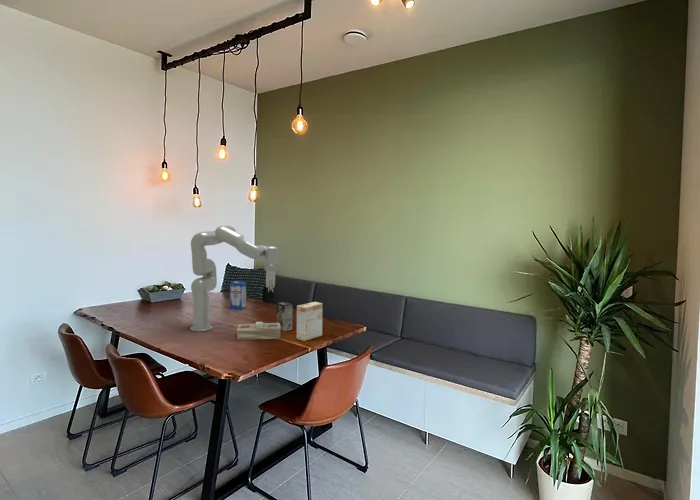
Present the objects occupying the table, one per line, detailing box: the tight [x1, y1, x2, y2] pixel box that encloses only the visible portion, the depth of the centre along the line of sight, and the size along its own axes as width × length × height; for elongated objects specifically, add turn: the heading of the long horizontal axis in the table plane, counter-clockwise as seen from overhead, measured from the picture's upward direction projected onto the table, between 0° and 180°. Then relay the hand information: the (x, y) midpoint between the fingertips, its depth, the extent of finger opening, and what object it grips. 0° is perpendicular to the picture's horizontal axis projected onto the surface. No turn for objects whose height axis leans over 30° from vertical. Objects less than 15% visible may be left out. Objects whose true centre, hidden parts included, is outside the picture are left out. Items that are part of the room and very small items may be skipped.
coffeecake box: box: [296, 301, 324, 342], centre depth 235 cm, size 15×7×20 cm, turn 141°
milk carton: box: [229, 281, 247, 311], centre depth 303 cm, size 10×6×20 cm, turn 73°
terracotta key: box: [241, 323, 250, 328], centre depth 233 cm, size 4×4×4 cm
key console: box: [236, 322, 282, 341], centre depth 235 cm, size 12×24×6 cm, turn 102°
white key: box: [255, 321, 264, 327], centre depth 235 cm, size 4×4×4 cm
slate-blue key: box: [269, 322, 277, 327], centre depth 236 cm, size 4×4×4 cm
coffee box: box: [276, 301, 293, 332], centre depth 251 cm, size 9×6×16 cm
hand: (270, 298), depth 236 cm, fingers closed
